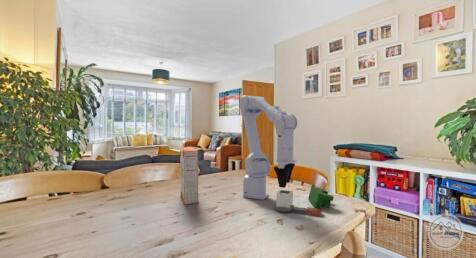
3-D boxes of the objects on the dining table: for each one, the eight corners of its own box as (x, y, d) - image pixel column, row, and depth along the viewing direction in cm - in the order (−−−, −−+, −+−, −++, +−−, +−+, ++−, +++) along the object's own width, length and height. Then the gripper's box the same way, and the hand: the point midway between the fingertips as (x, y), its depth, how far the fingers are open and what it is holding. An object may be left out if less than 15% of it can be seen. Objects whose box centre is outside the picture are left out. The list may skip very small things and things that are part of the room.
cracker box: (179, 195, 110) (179, 147, 110) (193, 193, 112) (193, 146, 112) (182, 205, 97) (183, 150, 96) (198, 203, 99) (198, 150, 98)
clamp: (326, 219, 96) (335, 201, 92) (311, 215, 96) (319, 196, 92) (321, 198, 107) (329, 181, 103) (307, 194, 107) (315, 177, 103)
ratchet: (272, 211, 91) (272, 200, 91) (277, 205, 98) (277, 195, 97) (320, 218, 85) (321, 206, 85) (322, 211, 92) (322, 200, 91)
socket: (276, 206, 92) (276, 192, 91) (279, 202, 96) (279, 189, 96) (290, 208, 90) (290, 194, 90) (292, 204, 94) (292, 191, 94)
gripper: (292, 150, 84) (292, 190, 85) (299, 146, 98) (298, 181, 98) (272, 149, 87) (271, 188, 87) (281, 145, 100) (280, 179, 101)
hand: (284, 184), depth 93 cm, fingers open, 7 cm apart
